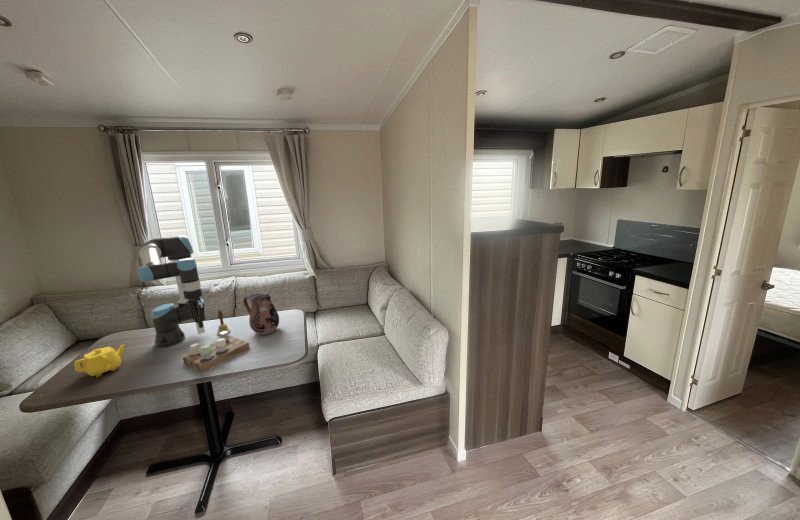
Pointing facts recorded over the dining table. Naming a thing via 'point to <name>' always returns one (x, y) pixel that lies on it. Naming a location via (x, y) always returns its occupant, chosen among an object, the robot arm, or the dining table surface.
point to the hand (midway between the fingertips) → (201, 332)
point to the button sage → (205, 350)
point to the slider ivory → (194, 349)
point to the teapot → (100, 361)
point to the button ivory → (220, 343)
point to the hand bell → (222, 324)
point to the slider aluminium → (224, 335)
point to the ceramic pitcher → (262, 313)
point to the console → (216, 355)
